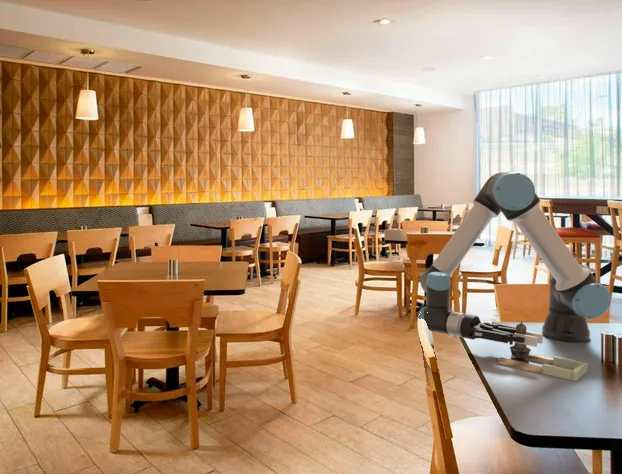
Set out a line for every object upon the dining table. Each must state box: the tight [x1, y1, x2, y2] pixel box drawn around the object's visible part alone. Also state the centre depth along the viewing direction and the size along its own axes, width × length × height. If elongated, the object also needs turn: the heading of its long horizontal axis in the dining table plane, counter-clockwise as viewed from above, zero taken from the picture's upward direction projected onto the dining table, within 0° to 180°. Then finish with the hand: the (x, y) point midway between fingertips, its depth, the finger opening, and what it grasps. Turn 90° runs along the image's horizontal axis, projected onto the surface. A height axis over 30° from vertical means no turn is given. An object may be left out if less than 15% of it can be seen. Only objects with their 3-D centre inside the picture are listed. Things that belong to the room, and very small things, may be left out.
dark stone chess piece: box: [509, 320, 532, 364], centre depth 163 cm, size 6×6×12 cm
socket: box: [541, 355, 589, 382], centre depth 155 cm, size 9×10×2 cm
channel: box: [498, 353, 554, 375], centre depth 162 cm, size 12×11×2 cm
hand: (539, 340), depth 159 cm, fingers closed on dark stone chess piece, 4 cm apart
